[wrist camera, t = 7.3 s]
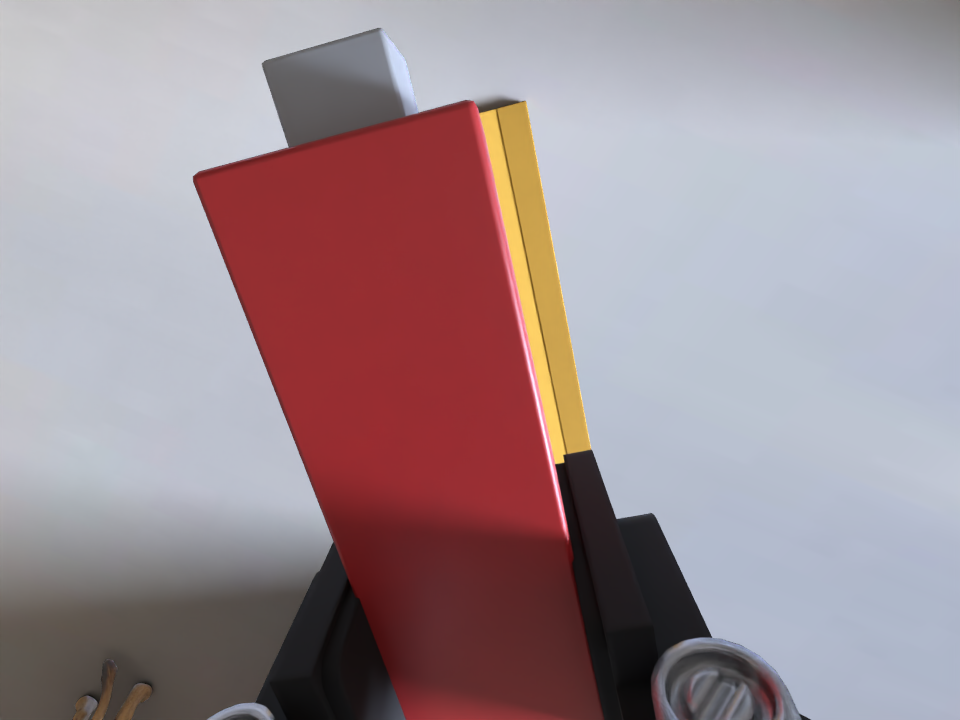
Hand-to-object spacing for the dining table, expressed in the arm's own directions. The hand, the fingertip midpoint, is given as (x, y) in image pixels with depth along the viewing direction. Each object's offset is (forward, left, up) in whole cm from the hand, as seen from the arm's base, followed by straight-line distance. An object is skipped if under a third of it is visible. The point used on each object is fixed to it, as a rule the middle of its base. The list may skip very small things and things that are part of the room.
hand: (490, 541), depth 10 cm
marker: (0, 0, 0) cm, 0 cm away
